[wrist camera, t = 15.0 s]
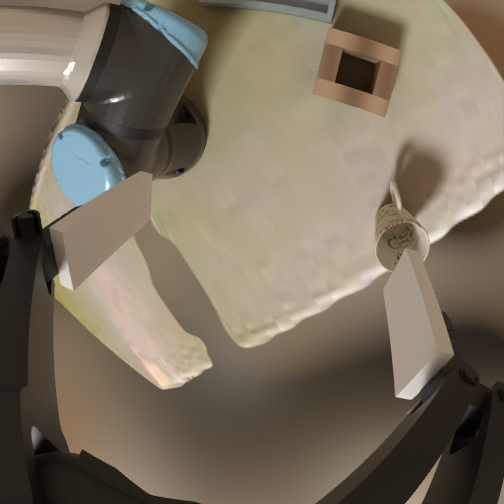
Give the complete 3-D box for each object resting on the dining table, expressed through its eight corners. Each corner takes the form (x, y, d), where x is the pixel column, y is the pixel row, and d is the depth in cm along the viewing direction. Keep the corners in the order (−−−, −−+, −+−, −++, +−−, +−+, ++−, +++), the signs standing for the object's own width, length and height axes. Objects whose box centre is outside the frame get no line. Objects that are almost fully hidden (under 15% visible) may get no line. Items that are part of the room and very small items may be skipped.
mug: (371, 244, 50) (377, 277, 42) (360, 175, 45) (367, 197, 37) (416, 237, 47) (430, 268, 39) (409, 168, 42) (426, 187, 34)
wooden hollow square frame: (314, 93, 40) (312, 94, 35) (328, 35, 35) (328, 27, 30) (377, 113, 39) (384, 117, 34) (393, 55, 34) (402, 51, 29)
